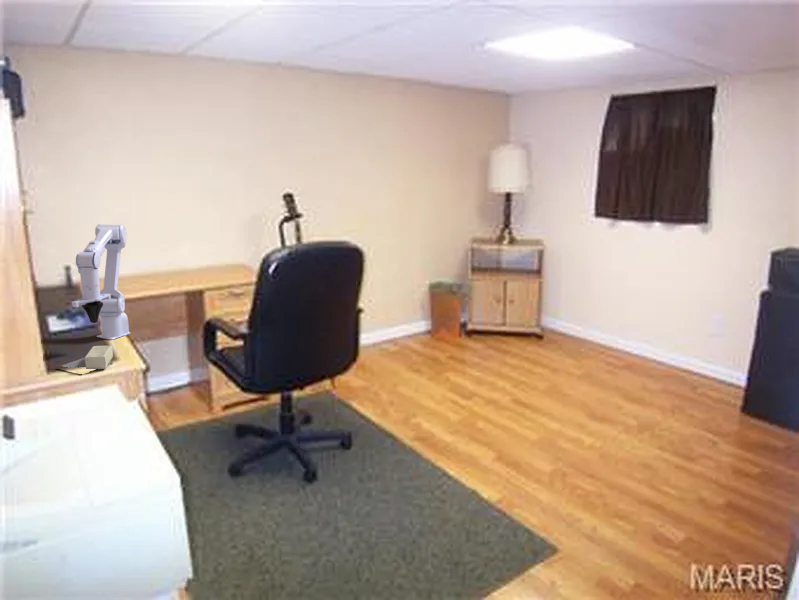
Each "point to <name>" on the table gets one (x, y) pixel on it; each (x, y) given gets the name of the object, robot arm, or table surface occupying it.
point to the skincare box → (98, 357)
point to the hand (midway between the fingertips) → (94, 322)
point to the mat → (77, 363)
